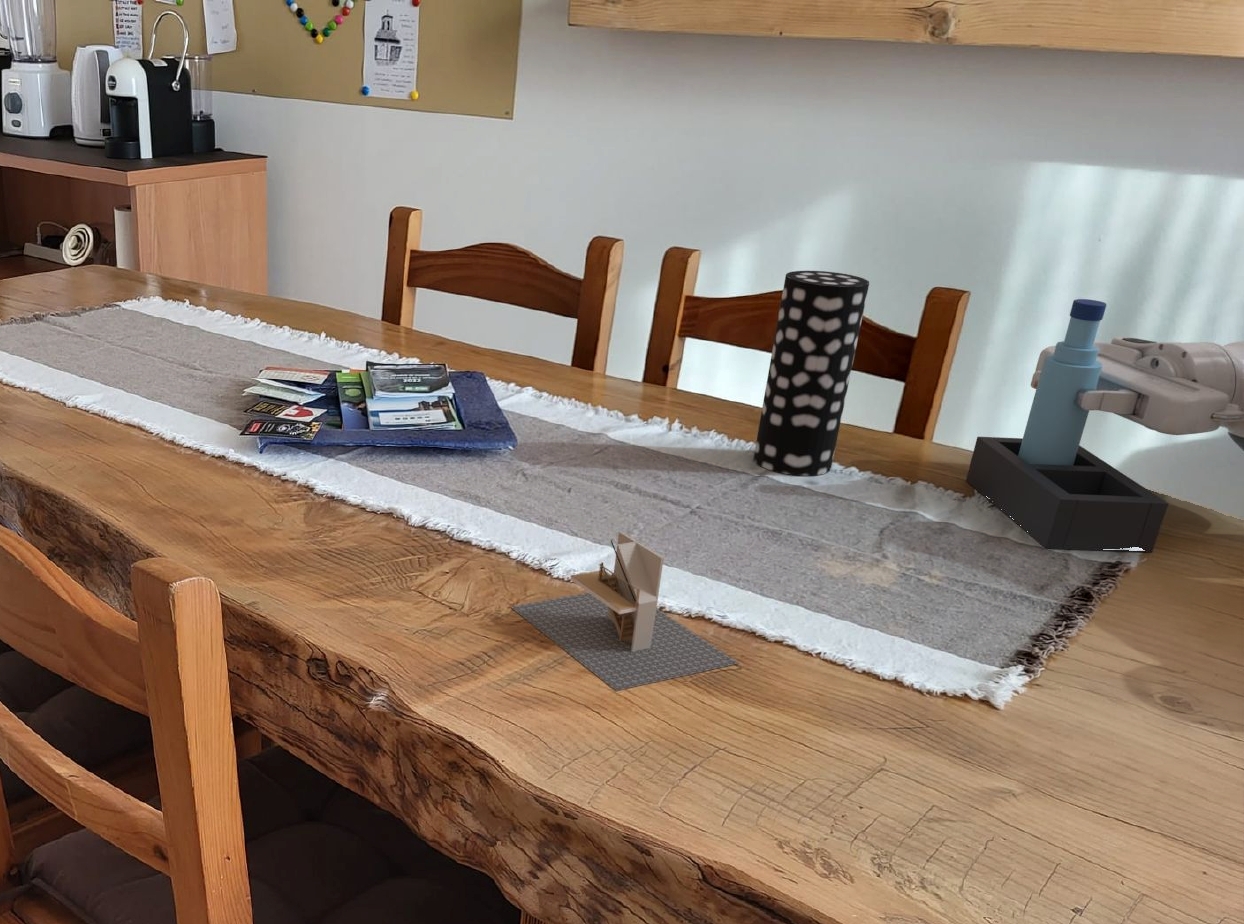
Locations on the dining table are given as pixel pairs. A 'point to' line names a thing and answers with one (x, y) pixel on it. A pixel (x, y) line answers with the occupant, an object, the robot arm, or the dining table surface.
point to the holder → (1067, 499)
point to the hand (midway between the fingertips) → (1057, 390)
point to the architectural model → (623, 624)
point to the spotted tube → (809, 371)
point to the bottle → (1064, 390)
